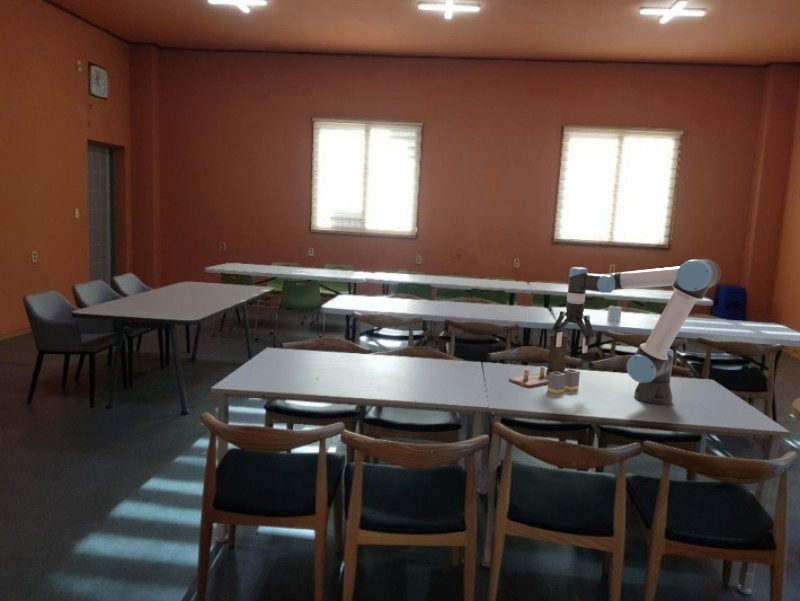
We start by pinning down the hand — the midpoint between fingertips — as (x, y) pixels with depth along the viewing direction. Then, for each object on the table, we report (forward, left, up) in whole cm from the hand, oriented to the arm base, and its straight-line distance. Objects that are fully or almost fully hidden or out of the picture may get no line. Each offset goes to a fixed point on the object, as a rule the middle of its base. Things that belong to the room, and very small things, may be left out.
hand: (571, 349), depth 266 cm
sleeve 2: (-2, +1, -17) cm, 17 cm away
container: (+18, -14, -17) cm, 29 cm away
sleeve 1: (-2, +11, -17) cm, 20 cm away
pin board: (+13, +8, -17) cm, 23 cm away
